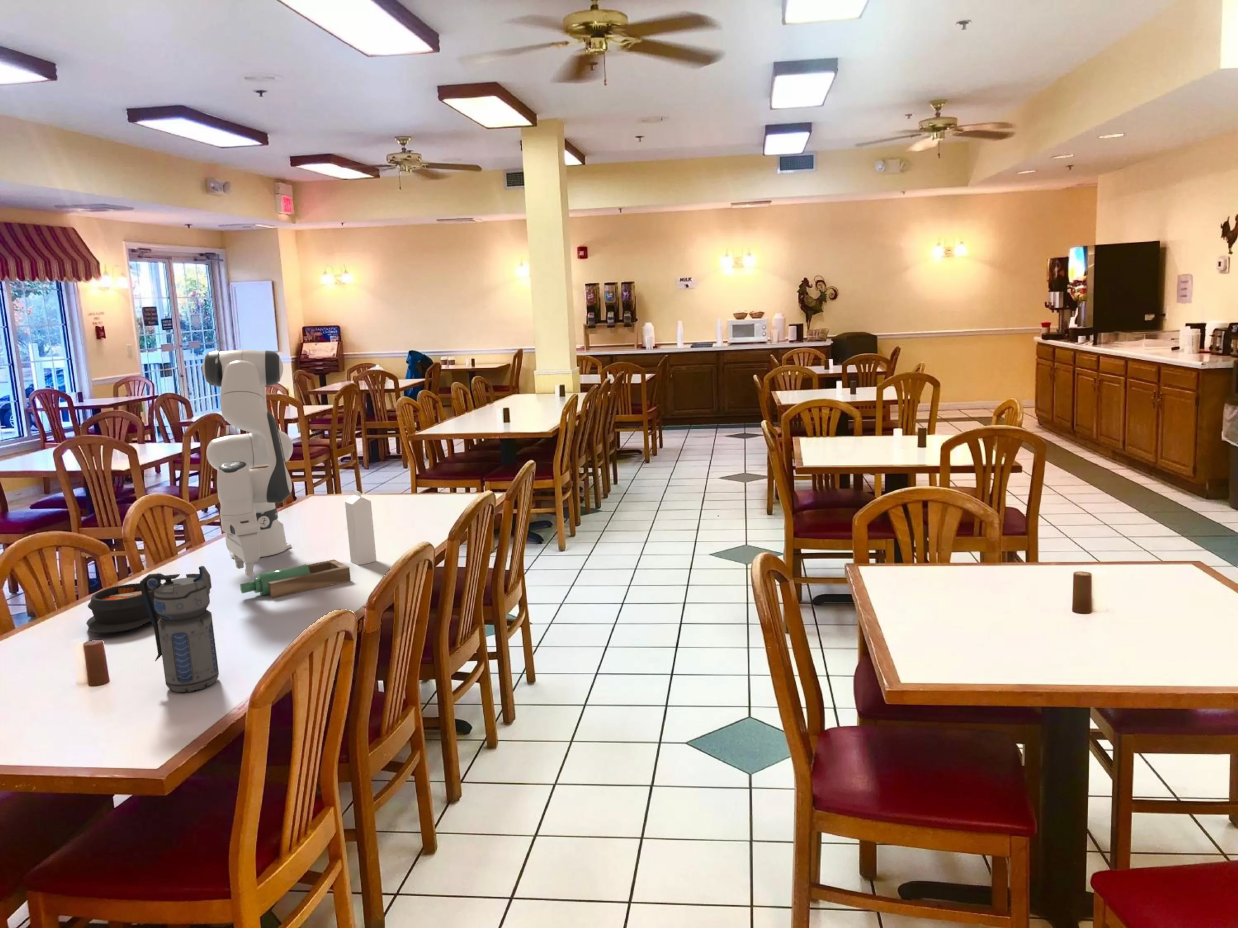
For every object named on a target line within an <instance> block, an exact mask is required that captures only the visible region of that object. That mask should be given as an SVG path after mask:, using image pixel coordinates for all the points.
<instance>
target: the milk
mask: <svg viewBox="0 0 1238 928" xmlns="http://www.w3.org/2000/svg"><path fill="white" fill-rule="evenodd" d="M352 492H353V495H351V496H350V497H349V498H347V499H345V501H344V505H345V514H346V515H345V516H346V518H345V519H346V524H347V525H346V528H347V536H348V537H347V539H348V545H349V546H348V547H349V548H348V549H349V556H350V562H351V563H353V564H355V565H358V566H360V565H364V564H370V563H374V562H377V553H376V552H377V551H376V542H375V540H376V539H375V530H374V519H373V511H372V510H373V509H372V501H371V500H369V499H368V498H367V499H366V498H364V497H362V493H361V491H358V490H355V489H353V491H352Z"/></svg>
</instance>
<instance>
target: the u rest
mask: <svg viewBox="0 0 1238 928" xmlns="http://www.w3.org/2000/svg"><path fill="white" fill-rule="evenodd" d="M306 565H307V566H308V567H309V570H310V574H306V575H301V576H296V577H292V578H287V579H282V580H277V581H272V582H268V584H269V593H270V594H269V597H270V598H271V599H274V598H278V597H279V598H280V597H283V596H288V595H292V594H298V593H302V592H306V591H310V590H315V589H320V588H325V587H329V585H330V586H333V585H332V584H334V585H337V584H338V583H339V584H343V583H342V582H344V583H346V582H347V583H348V582H351V580H352V579H351V569H350V568H351V567H350V566H348V565H345V564H344V563H342V562H341V561H338V560H337V559H330V560H325V561H320V562H315V563H311V564H310V563H309V564H306ZM324 586H325V587H324Z"/></svg>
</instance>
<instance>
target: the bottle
mask: <svg viewBox="0 0 1238 928" xmlns="http://www.w3.org/2000/svg"><path fill="white" fill-rule="evenodd" d="M307 565H308V564H307V563H304V564H300V565H297V566H296V565H295V566H289V567H286V568H280V569H277V570H271V571H270V570H269V571H266V572H261V573H257V575H256V577H255V578H254V577H253V578H252V581H248V582H243V583H239V589H240V593H241V594H246V593H251V592H254V593H255V594H257V593H258V594H260V595H261V596H266V595H270V593H269V584H268V582H272V581H277V580H282V579H287V578H292V577H296V576H301V575H306V574H310V570H309V567H308V566H307Z"/></svg>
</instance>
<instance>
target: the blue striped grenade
mask: <svg viewBox="0 0 1238 928" xmlns="http://www.w3.org/2000/svg"><path fill="white" fill-rule="evenodd" d="M198 570H199V573H186V574H185V577H182V578H179V576H180V573H176V574H167V575H164V574H163V573H161V572H160V573H159V572H158V573H148V574H147V575H146V576H145V577H143V578H142V579H141V580H140V581H139V583H140V586H141V593H142V596H143V599H144V602H145V604H146V607H147V610H148V613H149V616H150V619H151V622H150V623H151V624H152V627H153V630H154V637H155V644H156V650H157V656H156V658H155V660H154V662H157V661H158V659H160V657H161V659H162V666H163V674H164V680H165V685H166V686H167V688H168V689H169V691H172V692H177V693H178V692H179V693H187V692H186V691H191V692H195V691H194V690H196V691H199V690H198V689H200V690H203V689H205V688H207V687H210V686H211V685H213V684H214V683H216V682H217V680H218V677H219V675H220V672H219V671H220V670H219V664H218V657H217V647H216V641H215V640H216V639H215V632H214V631H215V630H214V625H213V624H214V622H213V615H212V612H211V611H209V610H208V607H209V606H210V603H211V599H210V598H211V597H210V594H211V589H212V578H211V574H210V573H209V571H208V570H207V569H206V567H205V566H204V565H201V566H199V567H198ZM162 581H164V582H163V583H162ZM148 588H149V589H150V590H151V591H152V592H153V593H154V607H153V604H152V601H151V598H150V595H149V591H148ZM154 608H155V610H156V612H157V613H158V614H159V615H160V616H161V617H159V618H157V616H156V613H155V610H154ZM202 688H203V689H202Z"/></svg>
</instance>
